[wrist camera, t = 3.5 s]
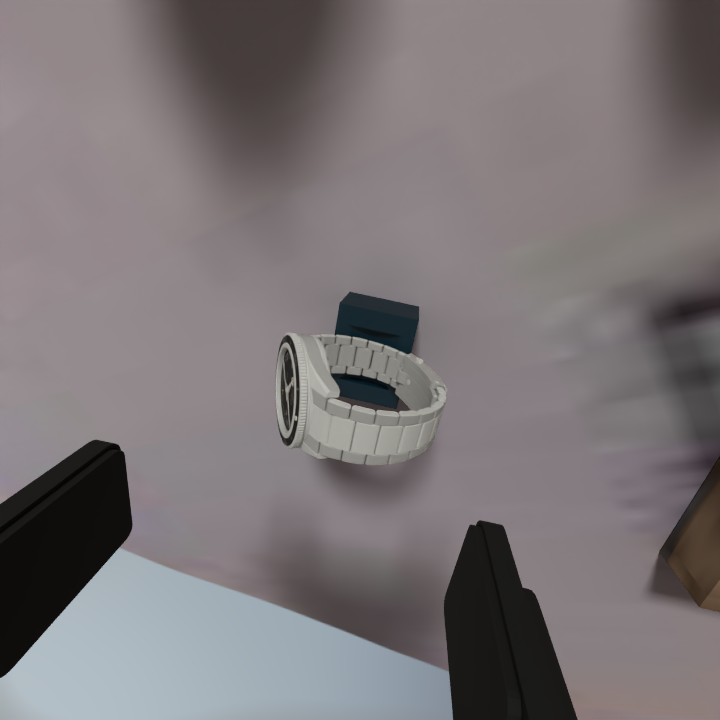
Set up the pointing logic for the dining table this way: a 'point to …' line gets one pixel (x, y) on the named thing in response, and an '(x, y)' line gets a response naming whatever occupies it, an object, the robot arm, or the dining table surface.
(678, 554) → the wooden tray
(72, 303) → the dining table surface
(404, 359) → the watch
